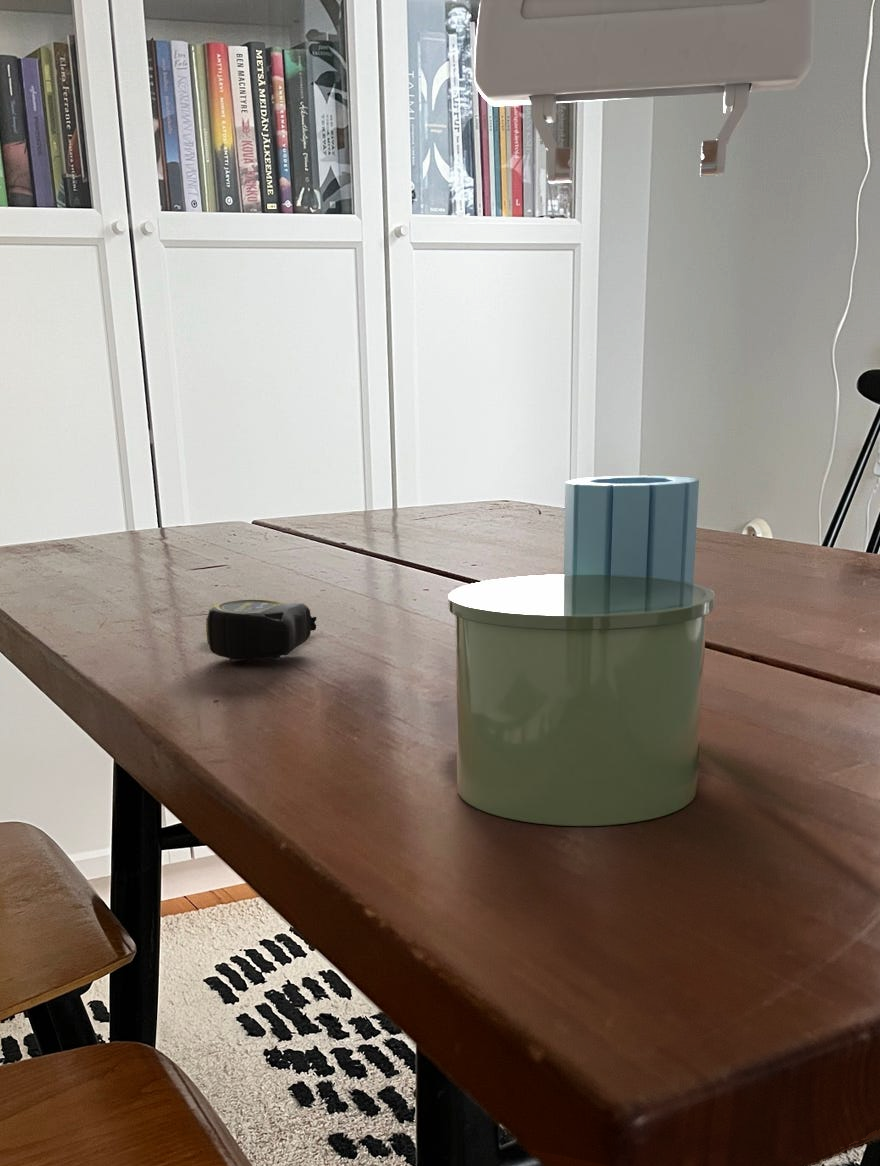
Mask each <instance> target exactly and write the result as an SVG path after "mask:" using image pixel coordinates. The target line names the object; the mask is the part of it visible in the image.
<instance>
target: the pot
mask: <svg viewBox="0 0 880 1166" xmlns="http://www.w3.org/2000/svg"><path fill="white" fill-rule="evenodd" d="M715 601H716V595H715V592H714V591H713V590H712V589H710V588H708V587H706V586H704V585H701V584H698V583H695V582H693V583H690V582H685V581H679V580H673V579H666V578H657V577H646V576H631V575H608V574H564V573H563V574H544V575H527V576H516V577H507V578H498V579H497V578H496V579H490V580H485V581H480V582H475V583H470V584H467V585H463V586H460V587H458V588H456V589H454V590H452V591H451V592H450V593H448V596H447V606H448V607H447V608H448V611H449V612H450V613H451V614H452V615H453V616H454V629H455V630H454V633H455V637H454V638H455V643H454V644H455V711H456V712H455V714H456V715H455V721H456V722H455V723H456V726H455V727H456V733H455V734H456V790H457V793H458V795H459V797H460V798H461V799H462V800H463V802H465V803H466V804H468V805H469V806H471V807H473V808H475V809H477V810H479V811H482V812H485V813H487V814H490V815H493V816H497V817H499V818H504V819H508V820H512V821H517V822H518V821H519V822H522V823H523V822H524V823H530V824H538V825H545V826H546V825H547V826H561V827H562V826H563V827H600V826H601V827H602V826H603V827H604V826H616V825H627V824H633V823H640V822H644V821H649V820H653V819H658V818H662V817H665V816H668V815H670V814H673V813H677V812H678V811H680V810H682V809H684V808H685V807H687V806H688V805H689V804H691V803H692V802H693V800H695V797H696V795H697V787H698V772H699V770H698V769H699V755H700V754H699V753H700V750H699V749H700V735H701V721H702V720H701V718H702V703H703V684H704V667H705V666H704V665H705V650H706V649H705V648H706V635H707V617H708V615H709V614H710V613H712V612H713V610H714V609H715V603H716V602H715Z"/></svg>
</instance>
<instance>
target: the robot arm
mask: <svg viewBox="0 0 880 1166" xmlns="http://www.w3.org/2000/svg"><path fill="white" fill-rule="evenodd" d="M477 16H478V17H477V23H476V33H475V45H474V61H473V63H474V65H473V69H474V71H473V75H474V77H473V78H474V83H475V86H476V89H477V91H478V92H479V94H480V95H481V97H482V98H483V99H484V100H485V101H486V102H487V103H488V104H489V105H490V106H492V107H507V106H523V105H524V106H525V105H530V119H531V121H532V123H533V125H534V127H535V129H536V131H537V133H538V135H539V137H540V139H541V142H542V143H543V145H544V148H545V149H546V151H547V155H546V157H547V159H546V160H547V162H546V179H547V180H546V181H547V183H549V184H560V183H561V184H562V183H563V184H564V183H572V181H573V170H572V168H571V167H572V165H573V164H574V152H573V149H572V147H570V146H569V147H568V146H567V147H566V146H565V147H564V146H563V147H562V146H561V147H559V146H558V143H557V142H556V140H555V138H554V136H553V133H552V132H551V129H550V127H549V126H548V124H550V123H551V124H553V123H555V122H556V121H557V104H559V103H561V104H562V103H576V102H578V103H579V102H596V101H599V102H600V101H615V100H617V101H618V100H631V99H650V98H651V99H652V98H669V97H670V98H671V97H685V96H687V97H688V96H689V97H690V96H703V95H704V96H705V95H706V96H707V95H722V94H723V108H722V109H723V114H729V115H728V117H727V119H726V120H725V122H724V124H723V126H722V128H721V129H720V131H719V133H718V135H717V136H716V139H711V140H710V139H707V140H702V141H701V154H700V158H701V161H700V169H699V172H700V173H699V176H700V177H722V176H723V177H724V175H725V169H726V168H725V167H726V156H727V145H729V143H730V141H731V140H732V138H733V136H734V134H735V132H736V131H737V129H738V128H739V125H740V124H741V122H742V121H743V119H744V116H745V115H746V114H747V110H748V106H749V105H748V104H749V94H750V93H759V92H777V91H792V90H794V89H796V88H797V87H798V86H799V85H800V83H801V82H802V81H803V80H804V79H805V78H806V77H807V75H809V72H810V71H811V68H812V65H813V59H814V44H815V0H480V1H479V8H478V14H477Z"/></svg>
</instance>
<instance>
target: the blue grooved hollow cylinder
mask: <svg viewBox="0 0 880 1166" xmlns="http://www.w3.org/2000/svg"><path fill="white" fill-rule="evenodd" d="M564 484H565V485H564V526H563V527H564V528H563V529H564V532H563V533H564V535H563V536H564V537H563V545H564V546H563V575H564V574H608V575H631V576H646V577H657V578H666V579H673V580H679V581H685V582H690V583H695V582H694V579H695V564H696V563H695V561H696V547H697V546H696V544H697V543H696V542H697V527H698V525H697V524H698V522H697V521H698V508H699V507H698V505H699V488H700V480H699V478H693V477H687V476H673V475H672V476H671V475H649V476H648V475H616V476H608V475H607V476H594V477H593V476H592V477H582V478H575V479H571V480H567V481H565V483H564Z"/></svg>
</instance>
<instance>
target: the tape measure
mask: <svg viewBox="0 0 880 1166" xmlns="http://www.w3.org/2000/svg"><path fill="white" fill-rule="evenodd" d="M205 622H206V623H205V627H206V629H205V630H206V632H205V633H206V641H207V645H208V646H209V649H210V652H211V653H212V654H215V655H217V656H219V657H221V658H227V659H229V660H230V661H231V662H235V663H236V662H239V661H244V660H256V659H268V658H270V659H271V660H276V661H280V660H281V657H282V656H287V655H289V654H290V653H291V652H293V651H294V650H295V649H296V648H298V647H299V646H301V645H303V644H304V643H306V642H307V641H308V639H309V638H310V636H311V634H312V631H313V632H314V631H316V629H317V624H316V622H317V616H312V613H311V610H310V608H309V606H308V605H306V604H305V603H303V602H283V601H282V602H281V601H278V600H271V599H270V600H269V599H239V600H230V601H225V602H219V603H217V604H215V605H213V606H212V607H210V609H209V610H208V614H207V616H206V619H205Z"/></svg>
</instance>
